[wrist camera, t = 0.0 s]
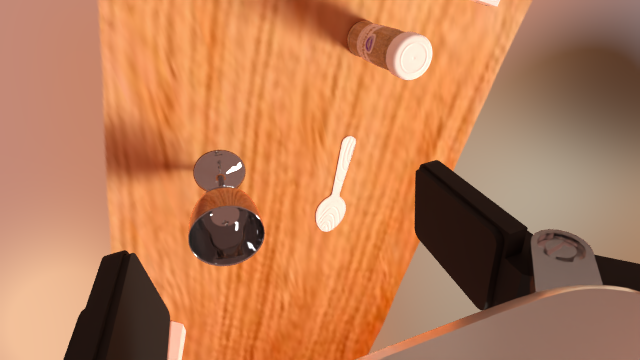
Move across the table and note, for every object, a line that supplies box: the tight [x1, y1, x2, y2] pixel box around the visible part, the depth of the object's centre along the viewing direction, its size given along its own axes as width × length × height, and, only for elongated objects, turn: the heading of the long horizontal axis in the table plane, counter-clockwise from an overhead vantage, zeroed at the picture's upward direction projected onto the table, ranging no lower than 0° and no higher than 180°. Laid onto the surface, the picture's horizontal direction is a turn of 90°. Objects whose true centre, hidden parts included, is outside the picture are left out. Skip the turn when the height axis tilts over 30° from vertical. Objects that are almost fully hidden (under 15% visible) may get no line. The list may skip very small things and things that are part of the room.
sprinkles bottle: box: [347, 21, 432, 80], centre depth 41 cm, size 5×5×14 cm
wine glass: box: [189, 150, 265, 266], centre depth 43 cm, size 8×8×15 cm
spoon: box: [316, 136, 356, 232], centre depth 57 cm, size 5×18×1 cm, turn 167°
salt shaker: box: [167, 321, 186, 360], centre depth 57 cm, size 5×5×11 cm
